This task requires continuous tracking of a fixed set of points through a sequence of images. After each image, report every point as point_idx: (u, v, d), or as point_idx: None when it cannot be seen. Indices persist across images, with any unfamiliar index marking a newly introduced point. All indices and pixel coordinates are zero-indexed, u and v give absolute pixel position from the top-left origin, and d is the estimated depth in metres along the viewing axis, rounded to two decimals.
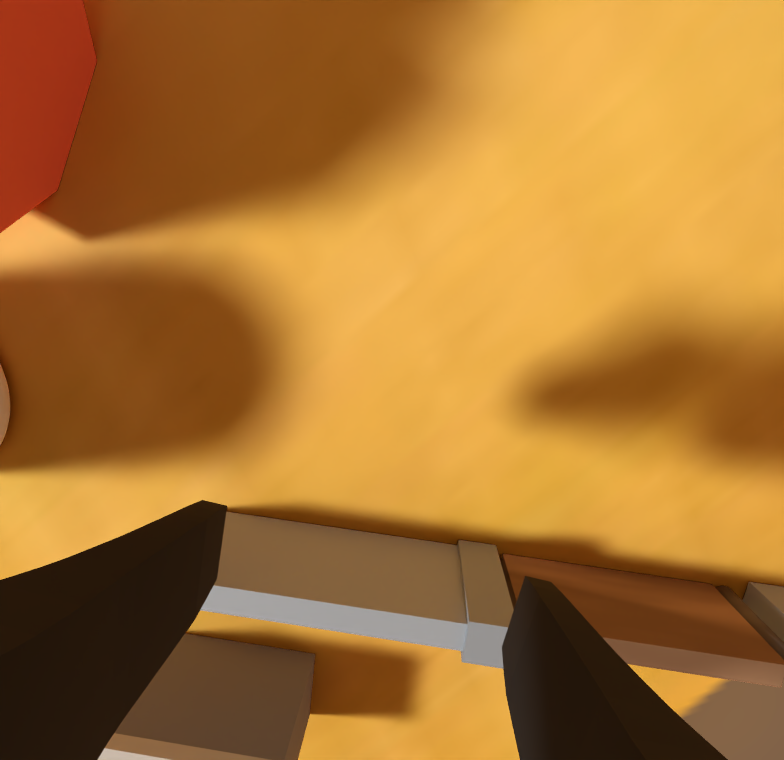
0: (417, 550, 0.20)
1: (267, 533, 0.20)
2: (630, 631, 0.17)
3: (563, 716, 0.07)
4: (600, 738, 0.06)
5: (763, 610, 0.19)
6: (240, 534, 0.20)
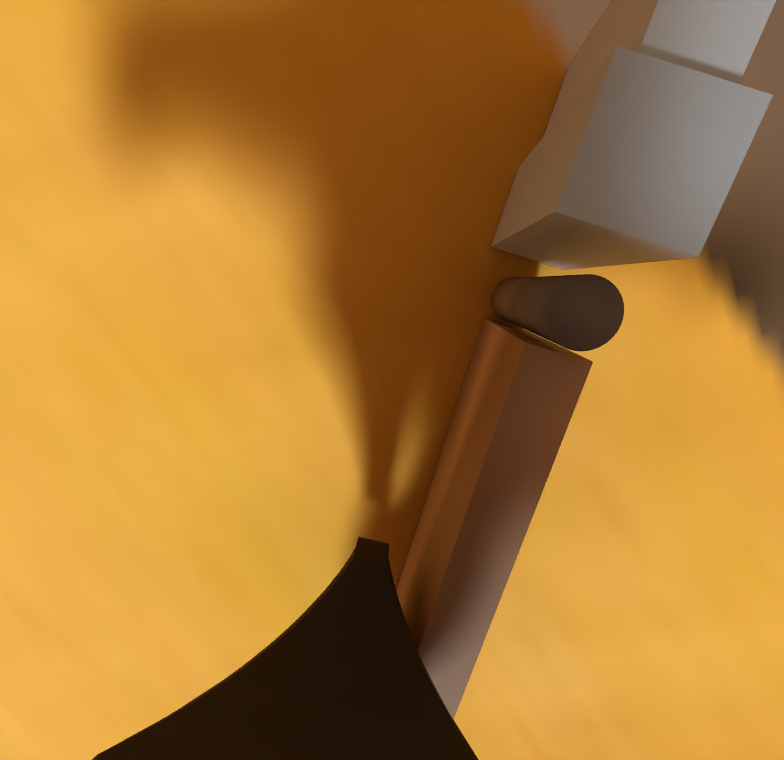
0: None
1: None
2: (418, 625, 0.08)
3: None
4: None
5: (525, 251, 0.09)
6: None
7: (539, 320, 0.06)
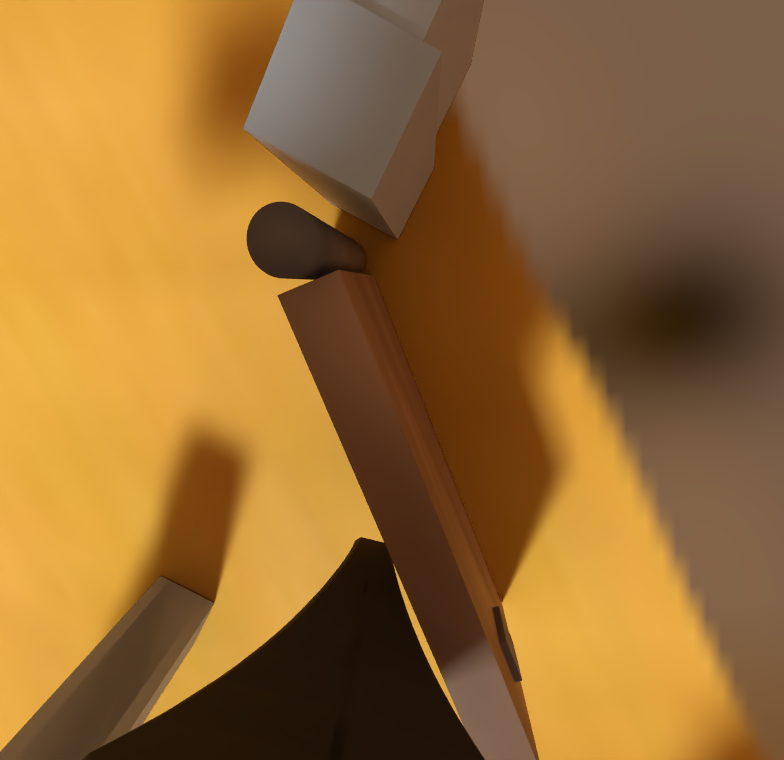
0: None
1: None
2: None
3: None
4: None
5: (344, 207, 0.09)
6: None
7: None
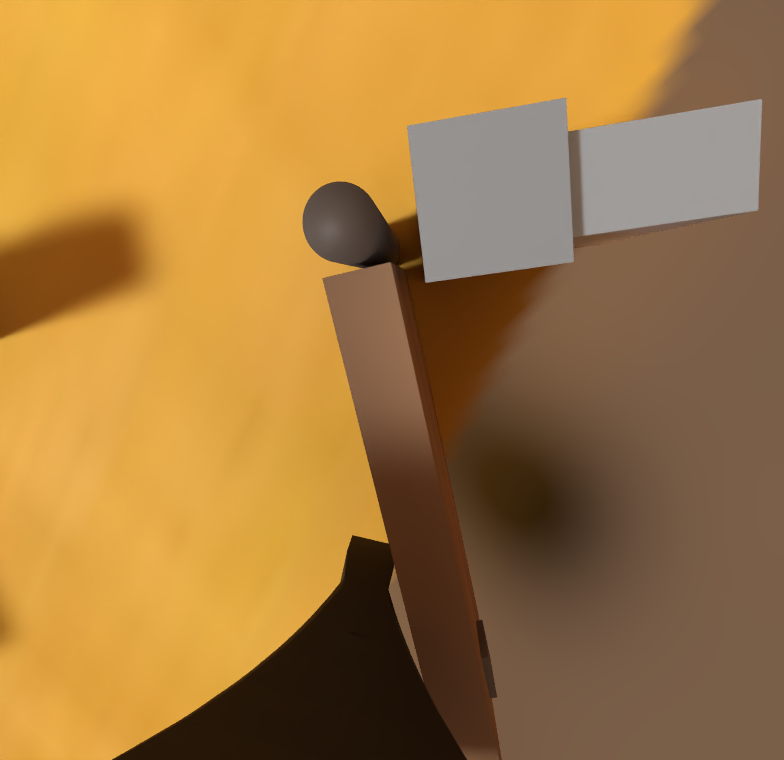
0: None
1: None
2: None
3: None
4: None
5: None
6: None
7: None
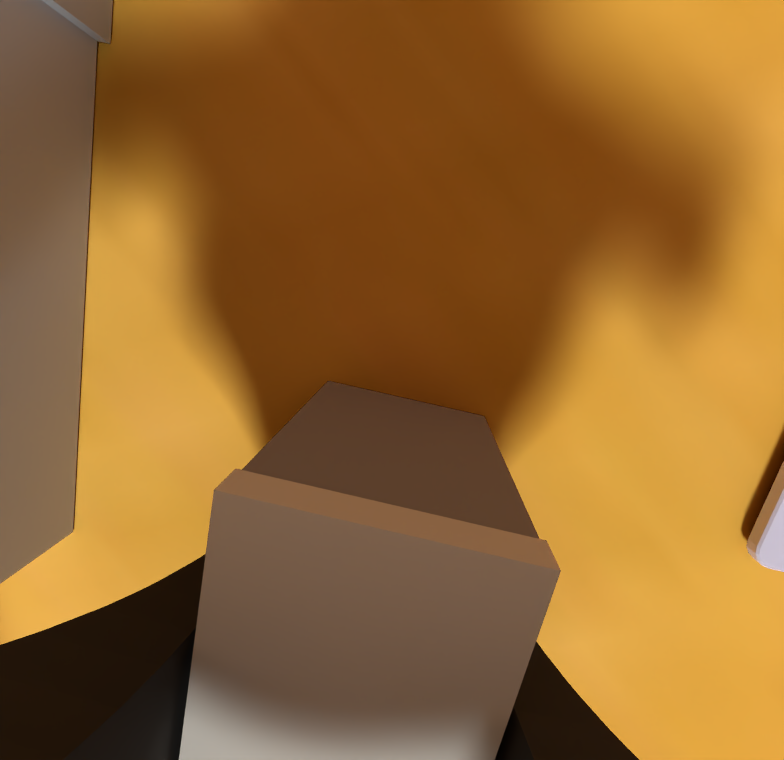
0: None
1: None
2: None
3: None
4: None
5: None
6: None
7: None
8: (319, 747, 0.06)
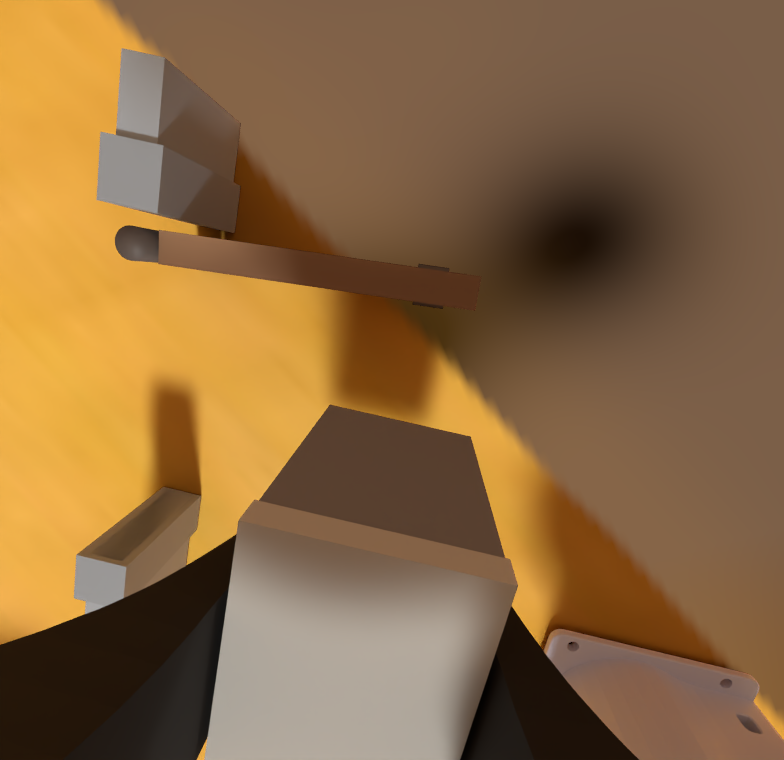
0: None
1: None
2: None
3: None
4: (496, 713, 0.06)
5: None
6: None
7: (146, 259, 0.13)
8: (324, 727, 0.07)
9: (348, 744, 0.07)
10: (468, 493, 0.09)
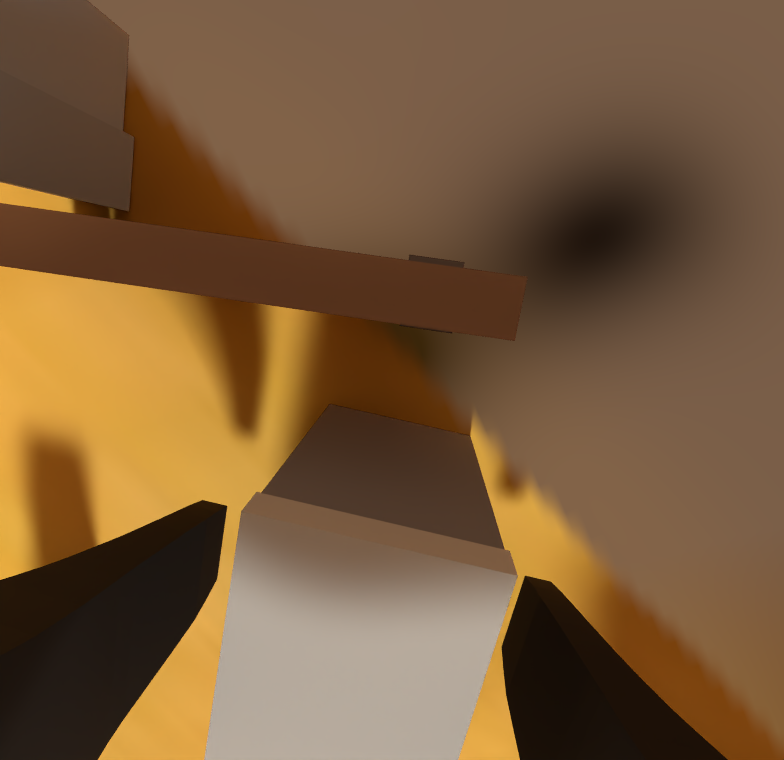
0: None
1: None
2: None
3: (563, 716, 0.07)
4: (600, 738, 0.06)
5: None
6: None
7: None
8: (325, 720, 0.07)
9: (349, 737, 0.07)
10: (468, 488, 0.09)
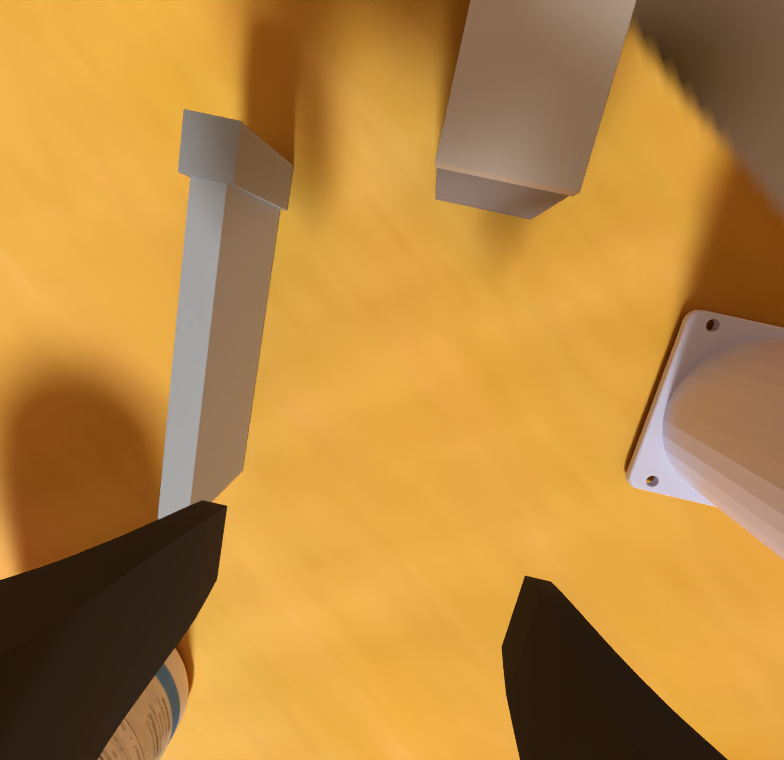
0: None
1: None
2: None
3: (563, 716, 0.07)
4: (600, 738, 0.06)
5: None
6: None
7: None
8: None
9: None
10: None
